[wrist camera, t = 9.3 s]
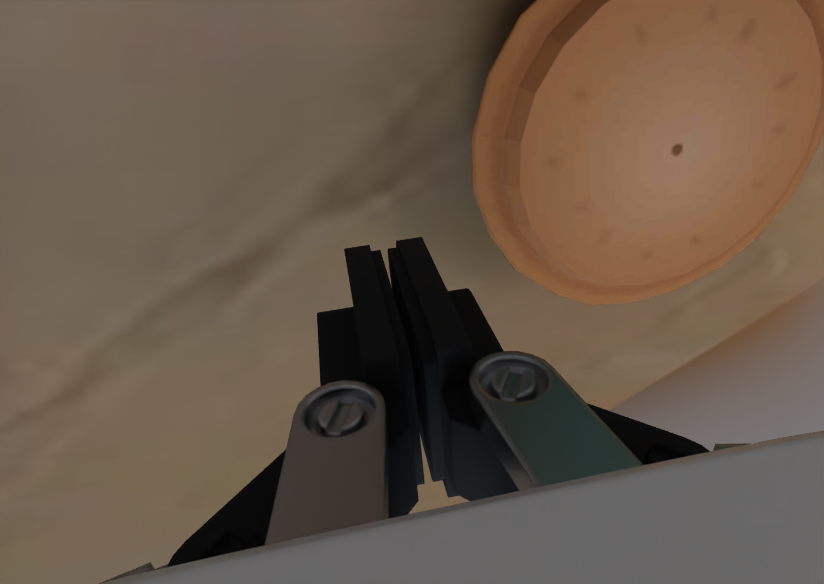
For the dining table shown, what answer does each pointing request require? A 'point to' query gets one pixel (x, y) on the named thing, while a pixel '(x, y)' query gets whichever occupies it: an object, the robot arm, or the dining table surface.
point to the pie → (645, 137)
